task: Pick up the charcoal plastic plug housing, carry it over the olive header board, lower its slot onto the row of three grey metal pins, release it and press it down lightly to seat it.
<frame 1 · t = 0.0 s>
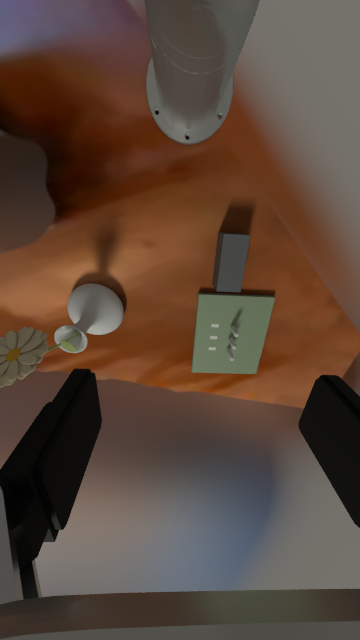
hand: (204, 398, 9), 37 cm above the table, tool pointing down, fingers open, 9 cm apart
header board: (229, 335, 50), on the table
plug housing: (226, 259, 43), on the table
flower in vase: (95, 305, 47), on the table
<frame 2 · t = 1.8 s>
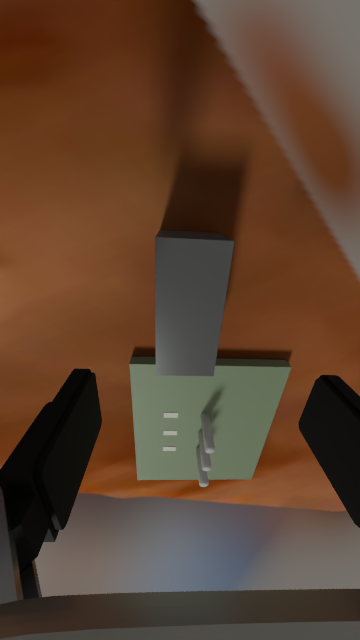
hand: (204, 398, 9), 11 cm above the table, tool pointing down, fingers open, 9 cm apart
header board: (201, 423, 27), on the table
plug housing: (185, 292, 19), on the table
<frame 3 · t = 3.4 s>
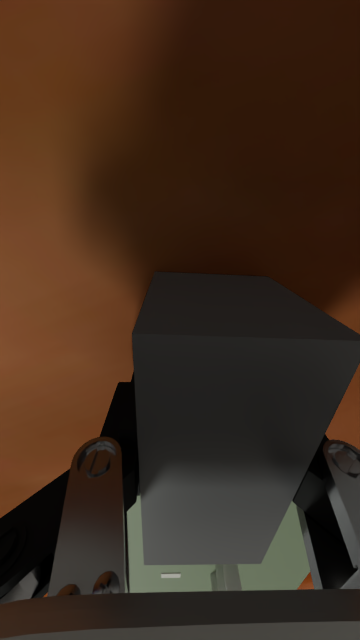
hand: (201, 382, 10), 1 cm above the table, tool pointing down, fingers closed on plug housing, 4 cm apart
header board: (217, 538, 18), on the table
plug housing: (200, 374, 11), on the table, touching gripper
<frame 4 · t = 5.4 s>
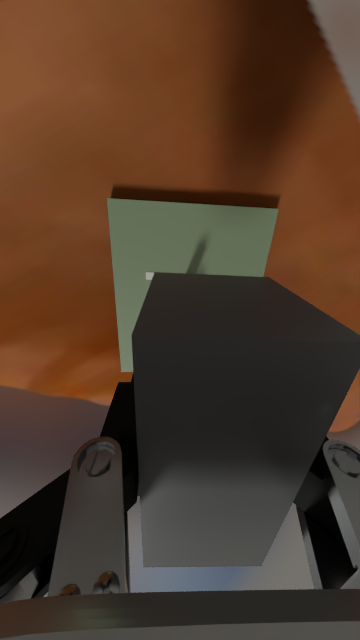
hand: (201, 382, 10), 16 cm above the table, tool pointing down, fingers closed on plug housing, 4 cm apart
header board: (186, 299, 26), on the table
plug housing: (200, 375, 11), point 16 cm above the table, touching gripper
when the fingers open (3 cm above the table, at t = 7.6 s): plug housing drops 1 cm, resting on header board.
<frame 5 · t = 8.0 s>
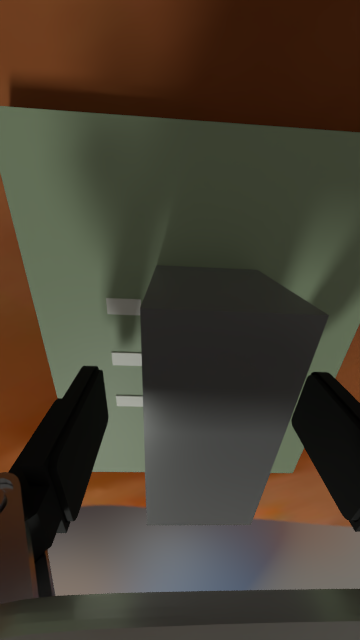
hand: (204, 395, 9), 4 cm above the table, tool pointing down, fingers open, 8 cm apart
header board: (196, 348, 13), on the table
plug housing: (197, 360, 12), point 1 cm above the table, touching header board
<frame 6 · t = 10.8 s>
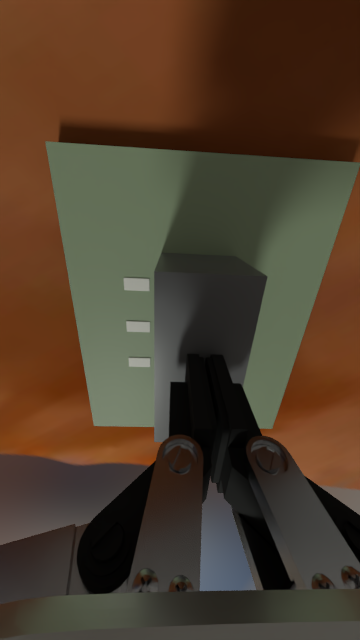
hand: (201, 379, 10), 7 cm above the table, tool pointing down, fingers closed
header board: (191, 320, 16), on the table
plug housing: (192, 328, 15), point 1 cm above the table, touching header board
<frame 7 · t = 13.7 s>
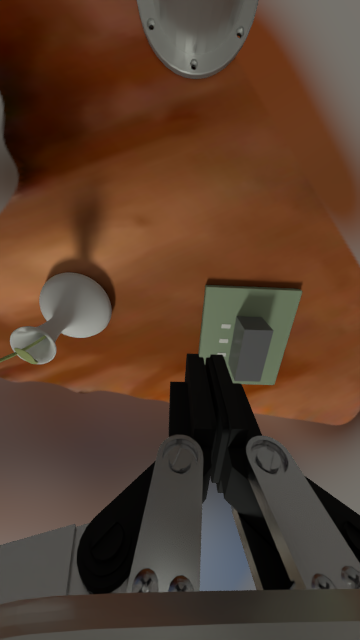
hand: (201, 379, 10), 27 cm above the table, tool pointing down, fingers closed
header board: (242, 338, 41), on the table
plug housing: (244, 341, 40), point 1 cm above the table, touching header board
flower in vase: (76, 301, 37), on the table
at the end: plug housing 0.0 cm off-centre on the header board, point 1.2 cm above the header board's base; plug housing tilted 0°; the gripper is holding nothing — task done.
